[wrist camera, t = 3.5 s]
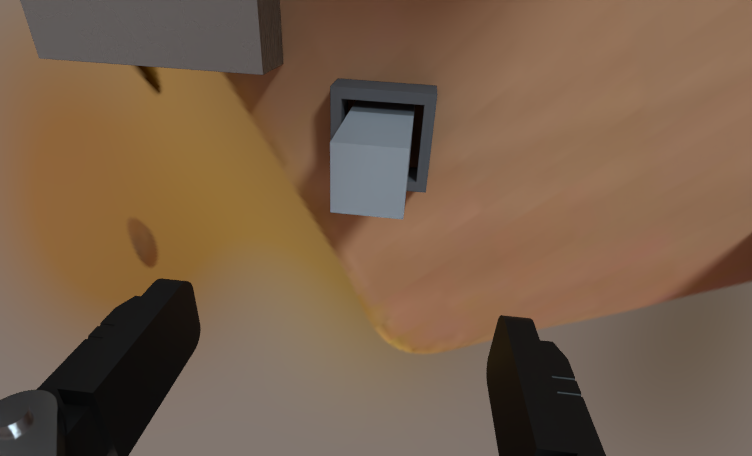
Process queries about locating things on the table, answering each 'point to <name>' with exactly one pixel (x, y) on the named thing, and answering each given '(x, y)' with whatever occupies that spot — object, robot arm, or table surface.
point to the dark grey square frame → (393, 94)
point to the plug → (372, 160)
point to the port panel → (160, 33)
